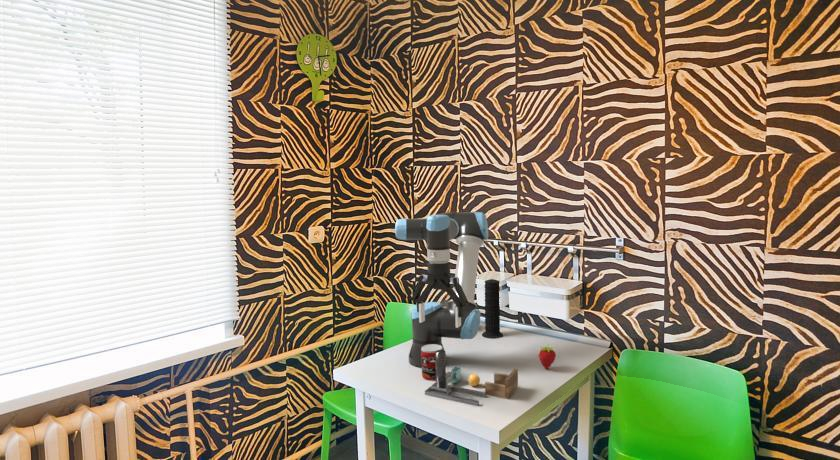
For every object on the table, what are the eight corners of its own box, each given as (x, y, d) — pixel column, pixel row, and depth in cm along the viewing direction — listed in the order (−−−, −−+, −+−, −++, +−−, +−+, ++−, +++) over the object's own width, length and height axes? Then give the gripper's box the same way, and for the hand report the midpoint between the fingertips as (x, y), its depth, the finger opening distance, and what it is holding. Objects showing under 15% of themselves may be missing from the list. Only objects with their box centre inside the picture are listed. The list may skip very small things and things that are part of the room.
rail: (424, 394, 165) (424, 391, 165) (435, 385, 172) (435, 382, 172) (477, 405, 156) (477, 402, 156) (486, 396, 163) (486, 392, 163)
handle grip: (480, 338, 223) (503, 339, 221) (480, 281, 221) (502, 281, 219) (482, 331, 233) (503, 332, 231) (481, 276, 230) (503, 277, 228)
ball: (466, 386, 171) (466, 375, 170) (471, 382, 174) (471, 371, 174) (477, 388, 169) (477, 377, 168) (481, 384, 172) (481, 373, 172)
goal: (485, 394, 164) (484, 375, 164) (495, 383, 173) (495, 365, 172) (508, 399, 160) (508, 380, 160) (517, 387, 169) (517, 369, 168)
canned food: (417, 376, 180) (416, 347, 179) (432, 370, 186) (432, 342, 185) (432, 382, 175) (431, 352, 174) (447, 375, 181) (446, 347, 180)
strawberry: (558, 367, 186) (558, 342, 185) (550, 374, 180) (550, 347, 179) (544, 364, 190) (544, 339, 189) (535, 370, 184) (535, 344, 183)
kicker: (430, 392, 166) (429, 352, 165) (448, 377, 178) (447, 340, 177) (446, 395, 163) (445, 354, 162) (463, 380, 176) (462, 342, 174)
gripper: (400, 261, 165) (402, 322, 167) (469, 265, 153) (469, 331, 155) (411, 257, 171) (413, 317, 173) (478, 262, 159) (478, 325, 161)
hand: (439, 324), depth 164 cm, fingers open, 13 cm apart
